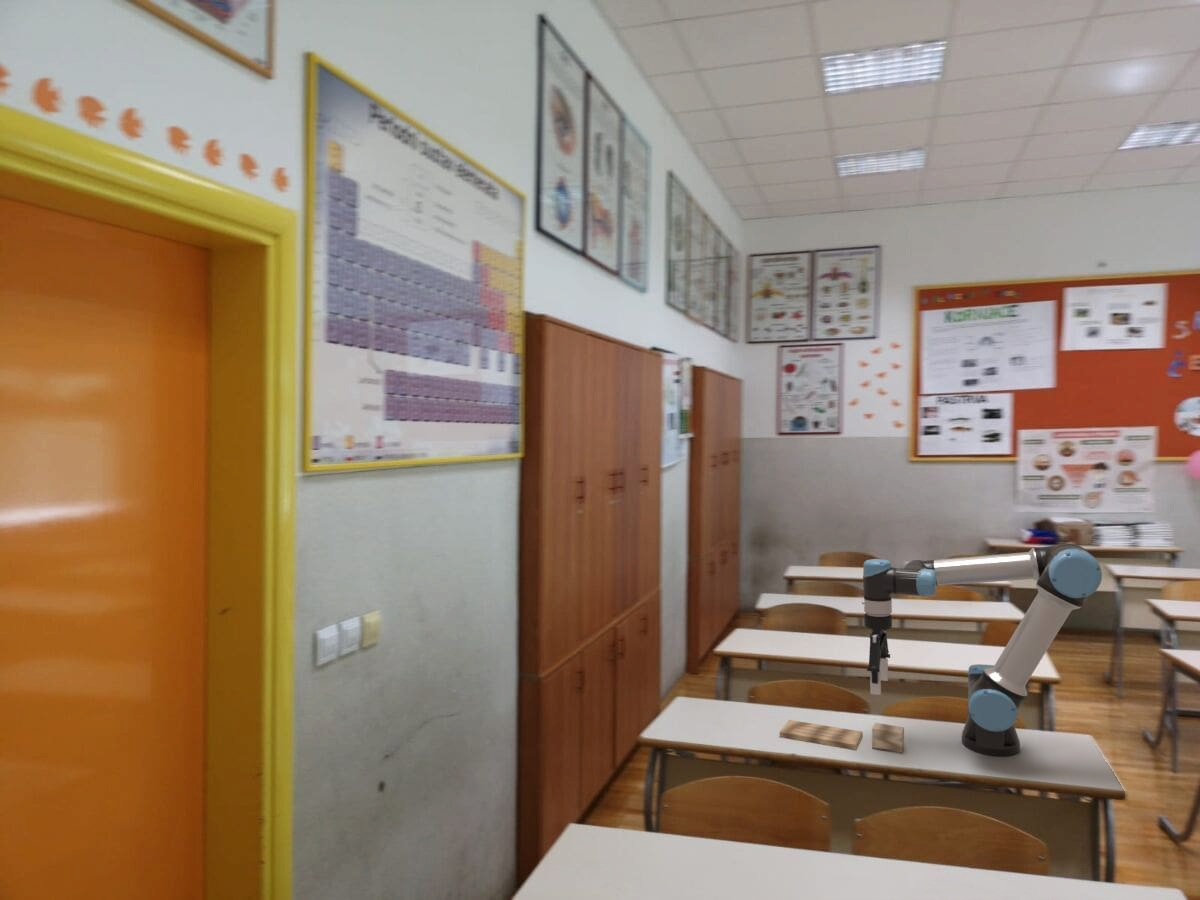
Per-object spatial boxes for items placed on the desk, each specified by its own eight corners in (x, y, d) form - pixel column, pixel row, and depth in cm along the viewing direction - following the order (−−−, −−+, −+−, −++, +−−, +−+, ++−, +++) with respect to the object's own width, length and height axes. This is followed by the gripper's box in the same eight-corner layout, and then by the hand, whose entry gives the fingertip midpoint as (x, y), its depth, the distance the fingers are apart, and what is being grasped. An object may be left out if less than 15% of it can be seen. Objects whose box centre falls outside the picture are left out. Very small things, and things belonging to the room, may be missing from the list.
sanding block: (904, 747, 229) (904, 727, 229) (901, 754, 224) (901, 733, 224) (874, 742, 233) (874, 722, 232) (872, 749, 228) (872, 728, 228)
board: (862, 736, 237) (862, 731, 237) (855, 750, 227) (855, 744, 227) (789, 724, 247) (789, 719, 247) (779, 736, 238) (779, 731, 238)
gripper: (871, 604, 242) (873, 673, 242) (856, 622, 220) (858, 698, 220) (897, 605, 238) (899, 676, 239) (884, 624, 216) (886, 702, 217)
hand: (879, 687), depth 229 cm, fingers open, 13 cm apart
